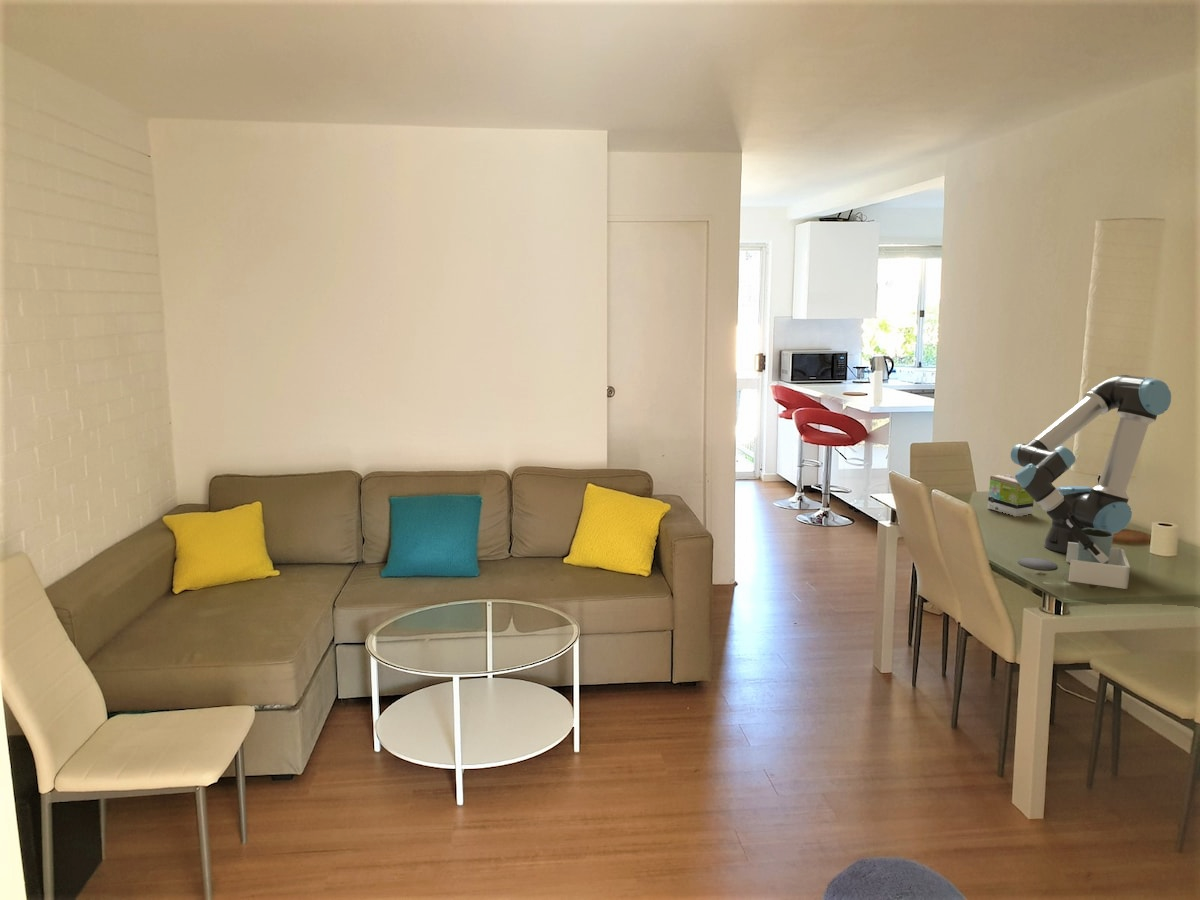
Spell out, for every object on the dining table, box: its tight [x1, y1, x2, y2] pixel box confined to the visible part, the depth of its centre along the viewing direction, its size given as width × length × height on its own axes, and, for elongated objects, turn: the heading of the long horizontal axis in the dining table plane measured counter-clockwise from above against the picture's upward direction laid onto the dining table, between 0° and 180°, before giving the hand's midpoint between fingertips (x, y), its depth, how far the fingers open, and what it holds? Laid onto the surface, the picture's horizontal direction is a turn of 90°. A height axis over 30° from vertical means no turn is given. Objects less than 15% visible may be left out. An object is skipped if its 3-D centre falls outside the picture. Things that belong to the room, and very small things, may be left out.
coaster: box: [1017, 557, 1058, 571], centre depth 299 cm, size 12×12×1 cm
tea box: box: [987, 473, 1035, 517], centre depth 367 cm, size 15×10×15 cm
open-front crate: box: [1065, 542, 1131, 590], centre depth 288 cm, size 23×16×7 cm
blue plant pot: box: [1078, 527, 1115, 564], centre depth 288 cm, size 10×10×12 cm
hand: (1104, 557), depth 287 cm, fingers closed on blue plant pot, 10 cm apart
